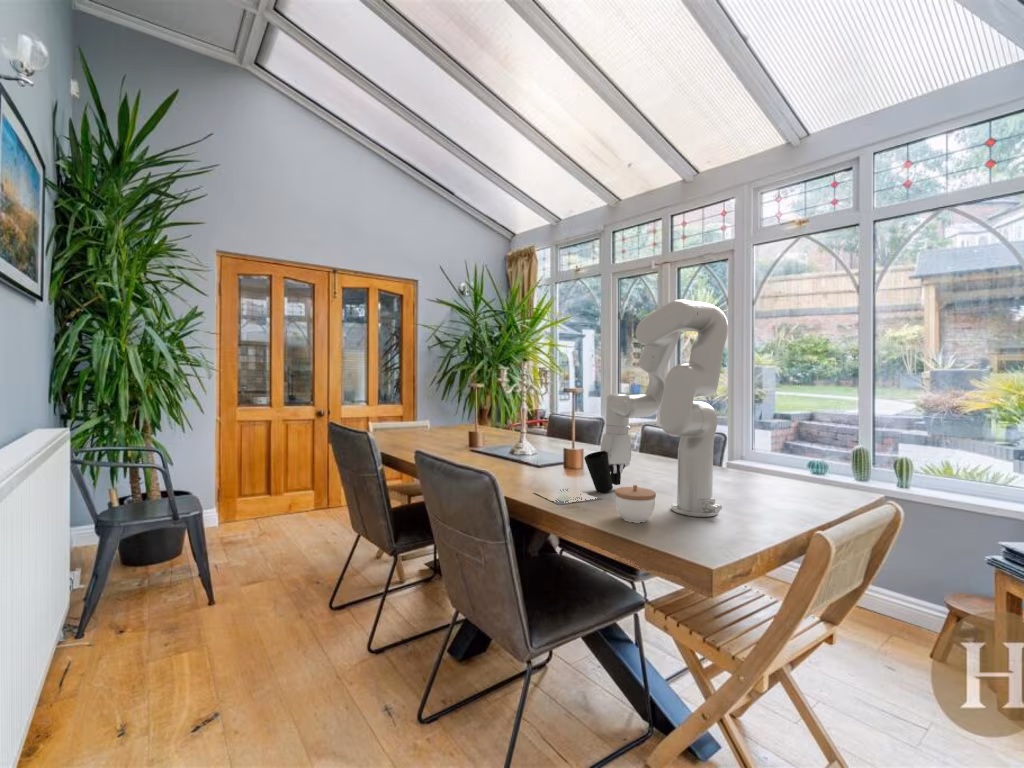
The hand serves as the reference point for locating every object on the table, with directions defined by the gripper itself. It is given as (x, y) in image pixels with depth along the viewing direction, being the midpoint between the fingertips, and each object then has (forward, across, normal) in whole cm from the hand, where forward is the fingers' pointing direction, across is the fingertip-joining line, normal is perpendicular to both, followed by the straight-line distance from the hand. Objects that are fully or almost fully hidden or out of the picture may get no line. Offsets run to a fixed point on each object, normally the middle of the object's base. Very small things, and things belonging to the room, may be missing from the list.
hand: (615, 483), depth 170 cm
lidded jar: (+2, +17, +30) cm, 34 cm away
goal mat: (+2, +20, +1) cm, 20 cm away
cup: (+1, +5, +1) cm, 5 cm away
